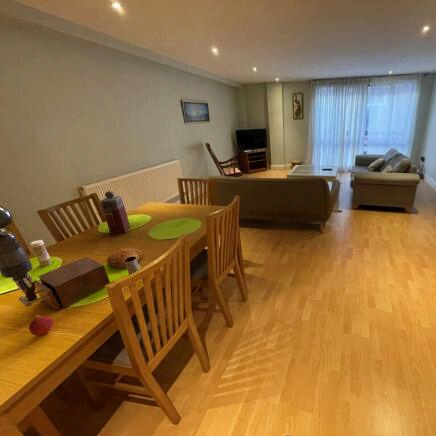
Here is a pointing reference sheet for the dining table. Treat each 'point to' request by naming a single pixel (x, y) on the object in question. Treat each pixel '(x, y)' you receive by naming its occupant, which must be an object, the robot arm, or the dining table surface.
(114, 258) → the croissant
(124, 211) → the maroon canister
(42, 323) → the onion
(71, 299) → the cabinet
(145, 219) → the dining table surface
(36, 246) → the sprinkles bottle
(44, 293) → the drawer
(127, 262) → the planter
